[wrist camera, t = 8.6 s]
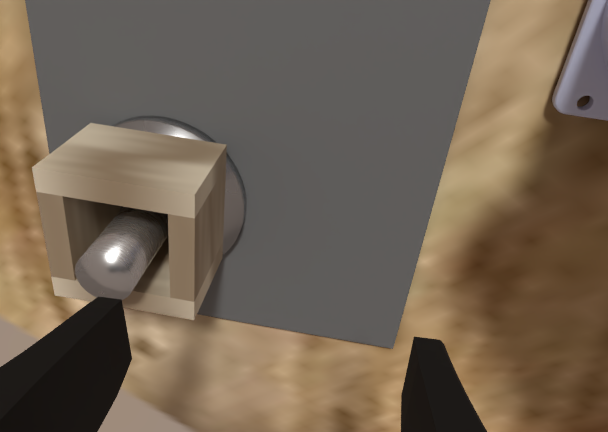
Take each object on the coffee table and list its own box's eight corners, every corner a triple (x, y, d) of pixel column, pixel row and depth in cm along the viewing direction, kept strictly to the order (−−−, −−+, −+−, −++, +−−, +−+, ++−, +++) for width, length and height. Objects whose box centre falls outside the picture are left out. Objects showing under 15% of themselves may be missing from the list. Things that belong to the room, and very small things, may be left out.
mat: (622, -484, 12) (629, -495, 12) (392, 342, 26) (392, 348, 25) (-51, -544, 13) (-63, -556, 12) (75, 286, 26) (71, 291, 26)
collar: (226, 144, 20) (194, 194, 17) (222, 257, 23) (194, 320, 20) (90, 122, 20) (32, 167, 17) (103, 237, 23) (54, 295, 20)
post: (251, 130, 20) (208, 204, 15) (242, 272, 24) (205, 369, 19) (77, 103, 21) (-19, 167, 16) (94, 247, 24) (21, 335, 20)
